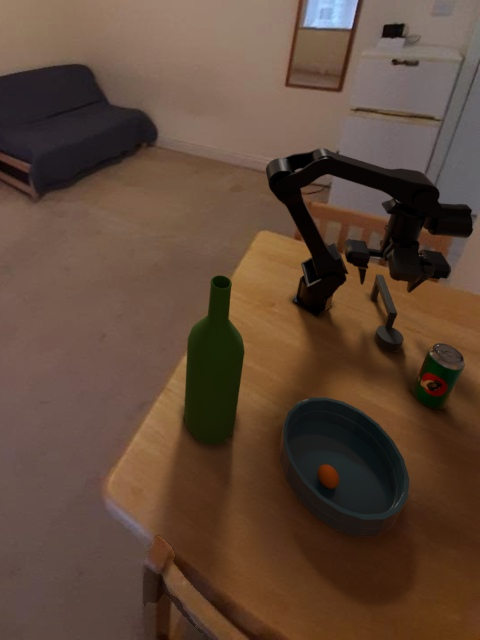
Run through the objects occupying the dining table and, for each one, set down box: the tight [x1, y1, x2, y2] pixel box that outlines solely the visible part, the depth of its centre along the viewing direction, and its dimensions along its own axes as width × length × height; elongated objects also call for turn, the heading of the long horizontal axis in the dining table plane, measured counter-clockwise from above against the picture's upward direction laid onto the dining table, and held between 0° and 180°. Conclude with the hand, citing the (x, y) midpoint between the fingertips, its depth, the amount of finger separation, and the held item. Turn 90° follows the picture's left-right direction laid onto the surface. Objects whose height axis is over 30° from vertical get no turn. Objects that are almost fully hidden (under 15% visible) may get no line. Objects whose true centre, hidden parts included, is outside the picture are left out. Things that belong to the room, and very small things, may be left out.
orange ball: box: [317, 464, 339, 489], centre depth 62 cm, size 3×3×3 cm
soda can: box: [412, 342, 466, 410], centre depth 72 cm, size 5×5×12 cm
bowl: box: [278, 396, 410, 538], centre depth 64 cm, size 17×17×6 cm
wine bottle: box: [183, 274, 245, 446], centre depth 66 cm, size 9×9×32 cm
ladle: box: [369, 273, 405, 353], centre depth 89 cm, size 16×5×7 cm, turn 162°
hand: (384, 287), depth 90 cm, fingers open, 9 cm apart
